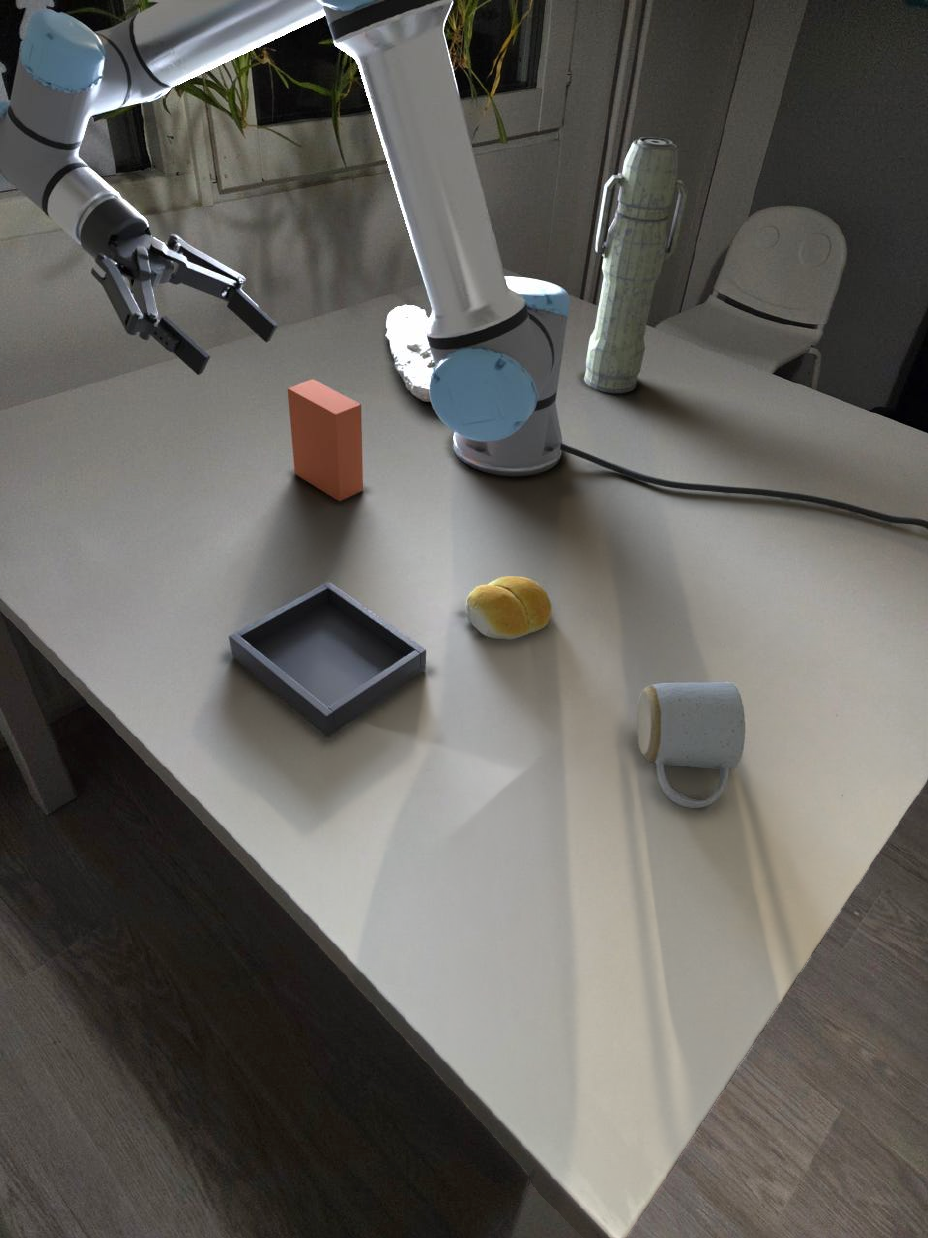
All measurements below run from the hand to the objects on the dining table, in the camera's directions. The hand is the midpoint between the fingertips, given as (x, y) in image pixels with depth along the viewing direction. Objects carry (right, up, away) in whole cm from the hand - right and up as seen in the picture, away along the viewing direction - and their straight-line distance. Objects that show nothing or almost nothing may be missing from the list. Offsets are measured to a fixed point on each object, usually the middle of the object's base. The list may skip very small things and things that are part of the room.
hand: (240, 349), depth 98 cm
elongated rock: (+19, +11, +39) cm, 45 cm away
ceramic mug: (+47, -45, -23) cm, 69 cm away
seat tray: (+13, -37, -16) cm, 42 cm away
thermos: (+51, +7, +38) cm, 64 cm away
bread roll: (+31, -32, -9) cm, 46 cm away
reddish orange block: (+9, -14, +9) cm, 19 cm away
